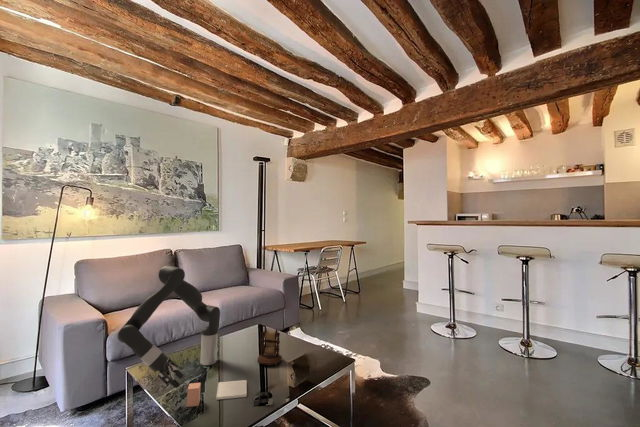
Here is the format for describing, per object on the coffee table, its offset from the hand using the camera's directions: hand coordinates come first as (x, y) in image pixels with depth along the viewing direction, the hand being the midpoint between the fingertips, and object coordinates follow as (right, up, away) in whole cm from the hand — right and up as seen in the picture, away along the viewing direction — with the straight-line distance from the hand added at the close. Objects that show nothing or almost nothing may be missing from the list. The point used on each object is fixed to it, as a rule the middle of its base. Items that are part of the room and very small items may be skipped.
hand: (180, 381), depth 144 cm
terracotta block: (+6, -11, +1) cm, 12 cm away
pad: (+20, -11, +13) cm, 26 cm away
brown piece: (+34, -13, +46) cm, 59 cm away
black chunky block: (+38, -12, +3) cm, 40 cm away
